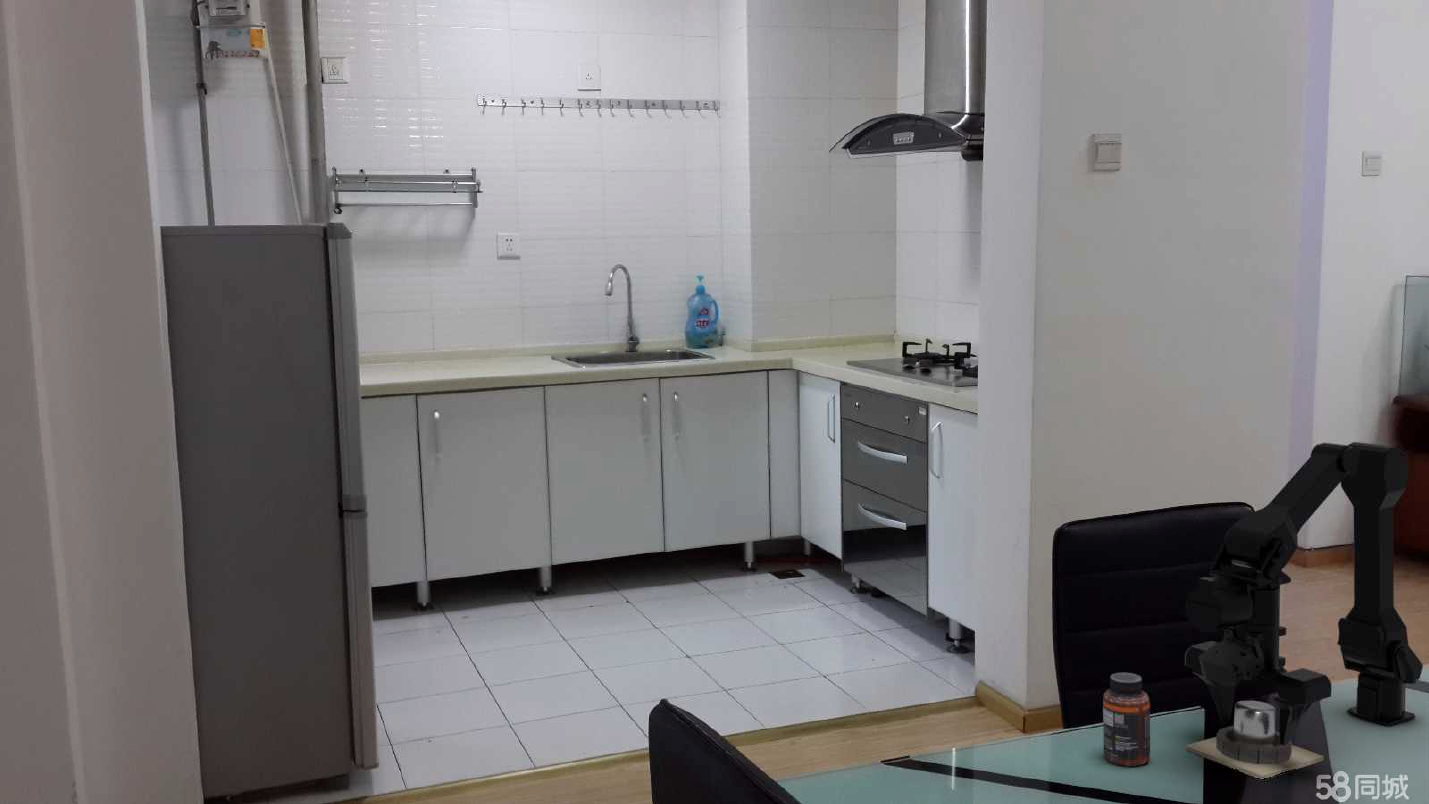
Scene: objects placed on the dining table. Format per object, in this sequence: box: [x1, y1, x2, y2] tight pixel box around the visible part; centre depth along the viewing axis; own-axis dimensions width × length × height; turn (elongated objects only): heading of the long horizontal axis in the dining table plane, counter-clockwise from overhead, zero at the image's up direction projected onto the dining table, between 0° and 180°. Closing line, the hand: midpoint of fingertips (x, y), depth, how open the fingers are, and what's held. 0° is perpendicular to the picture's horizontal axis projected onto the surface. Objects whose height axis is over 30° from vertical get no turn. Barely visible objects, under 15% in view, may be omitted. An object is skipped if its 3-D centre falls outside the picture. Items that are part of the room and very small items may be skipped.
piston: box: [1233, 700, 1276, 748], centre depth 166 cm, size 5×5×6 cm
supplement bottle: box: [1102, 672, 1151, 767], centre depth 166 cm, size 6×6×11 cm
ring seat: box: [1185, 725, 1324, 780], centre depth 166 cm, size 12×12×2 cm
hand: (1254, 733), depth 166 cm, fingers open, 9 cm apart
